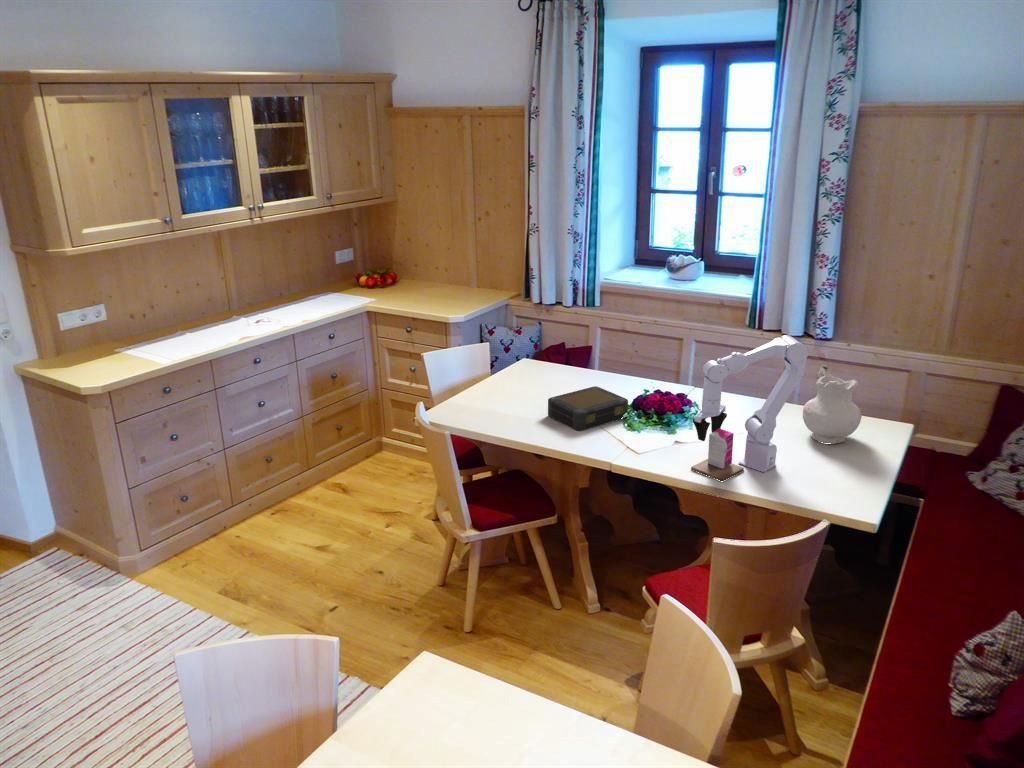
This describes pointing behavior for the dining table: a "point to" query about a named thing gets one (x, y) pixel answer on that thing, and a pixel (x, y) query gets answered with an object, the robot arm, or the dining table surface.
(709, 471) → the cardboard square
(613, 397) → the cash box
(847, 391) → the ceramic pitcher
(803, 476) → the dining table surface
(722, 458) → the supplement box
